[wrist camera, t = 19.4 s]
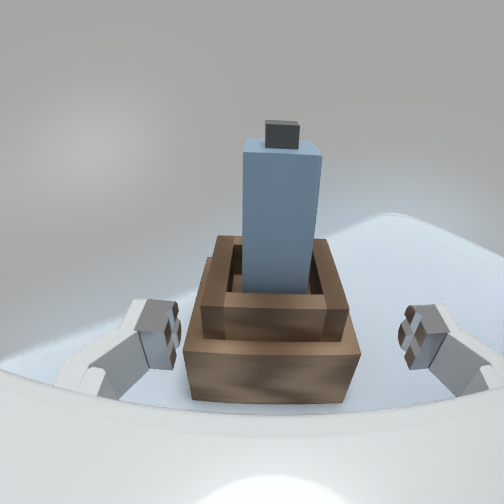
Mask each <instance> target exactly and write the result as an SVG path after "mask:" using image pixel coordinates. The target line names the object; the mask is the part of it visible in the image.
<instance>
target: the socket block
mask: <svg viewBox="0 0 504 504" xmlns="http://www.w3.org/2000/svg"><path fill="white" fill-rule="evenodd" d="M183 355H184V361H185V366H186V371H187V376H188V381H189V385H190V390H191V395H192V399H193V400H202V401H215V402H231V403H253V404H316V403H339V402H343V400H344V397H345V395H346V392H347V390H348V387H349V385H350V382H351V380H352V377H353V375H354V372H355V369H356V367H357V364H358V361H359V359H360V356H361V352H360V348H359V345H358V341H357V338H356V334H355V331H354V327H353V324H352V321H351V317H350V314H349V306H348V303H347V299H346V296H345V293H344V290H343V287H342V284H341V281H340V278H339V275H338V272H337V269H336V266H335V263H334V260H333V257H332V254H331V251H330V248H329V245H328V243H327V240H326V239H314V240H313V249H312V256H311V264H310V272H309V279H308V286H307V293H306V294H265V293H242V236H218V237H217V241H216V244H215V248H214V253H213V256H212V257H207V260H206V264H205V268H204V271H203V275H202V278H201V282H200V286H199V289H198V293H197V297H196V301H195V304H194V308H193V312H192V316H191V320H190V323H189V327H188V331H187V335H186V339H185V343H184V347H183Z"/></svg>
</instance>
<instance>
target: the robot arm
mask: <svg viewBox="0 0 504 504" xmlns="http://www.w3.org/2000/svg"><path fill="white" fill-rule="evenodd" d="M178 312H179V310H178V305H177V303H176V302H174V301H163V300H152V299H149V300H148V299H138V298H135V299H134V300H133V301H132V303H131V305H130V307H129V309H128V311H127V313H126V315H125V317H124V319H123V321H122V323H121V325H120V327H119V329H116V328H115V329H114V330H112V331H110V332H109V333H107V334H106V335H104V336H103V337H101V338H100V339H98V340H96V341H95V342H93V343H92V344H90V345H89V346H87V347H86V348H84V349H83V350H81V351H79V352H78V353H76V354H75V355H73V356H72V357H70V358H69V359H67V360H66V361H65V363H64V365H63V366H62V368H61V370H60V372H59V374H58V376H57V378H56V380H55V382H54V384H53V385H49V384H46V383H42V382H39V381H35V380H32V379H28V378H25V377H22V376H19V375H16V374H13V373H10V372H7V371H4V370H1V369H0V504H504V357H502V356H501V355H499V354H498V353H496V352H495V351H493V350H492V349H490V348H489V347H488V346H486V345H485V344H483V343H482V342H480V341H479V340H477V339H476V338H474V337H473V336H471V335H470V334H468V333H467V332H465V331H461V329H460V328H459V326H458V324H457V323H456V321H455V319H454V318H453V316H452V314H451V313H450V311H449V310H448V308H447V306H446V305H445V304H443V303H442V304H432V305H409V306H408V307H407V309H406V311H405V317H406V319H405V320H404V321H403V322H402V323H401V325H400V327H399V331H398V340H399V344H400V347H401V348H402V349H403V350H404V351H406V354H405V356H404V357H405V360H406V362H407V365H408V368H409V370H416V369H427V368H429V370H430V371H431V372H432V373H433V374H434V375H435V376H436V377H437V378H438V379H439V380H440V381H441V382H442V383H443V384H444V385H445V386H446V387H447V388H448V389H449V390H450V391H451V392H452V393H453V394H454V395H455V396H456V397H455V398H450V399H445V400H440V401H434V402H429V403H423V404H417V405H410V406H403V407H396V408H388V409H379V410H370V411H359V412H347V413H331V414H307V415H255V414H231V413H215V412H203V411H192V410H182V409H173V408H165V407H158V406H151V405H144V404H137V403H131V402H125V401H120V400H119V398H120V397H121V396H122V395H123V394H124V393H126V392H127V391H128V390H129V389H130V388H131V387H132V386H133V385H134V384H135V383H136V382H137V381H138V380H139V379H140V378H141V377H142V376H143V375H144V374H145V373H146V372H147V371H149V368H150V369H161V370H173V368H174V364H175V360H176V351H175V349H177V348H178V347H179V345H180V341H181V322H180V320H179V319H178V318H177V315H178Z"/></svg>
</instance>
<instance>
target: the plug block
mask: <svg viewBox="0 0 504 504" xmlns="http://www.w3.org/2000/svg"><path fill="white" fill-rule="evenodd" d="M299 131H300V125H299V124H298V123H297V122H296V121H279V120H266V123H265V139H261V138H258V139H257V138H247V140H246V143H245V147H244V151H243V223H242V224H243V226H242V229H243V230H242V293H265V294H306V293H307V286H308V279H309V272H310V264H311V256H312V249H313V240H314V232H315V224H316V214H317V205H318V196H319V186H320V176H321V165H322V155H321V153H320V152H319V151H318V149H317V148H316V147H315V145H314V144H313V143H312V141H304V140H299Z"/></svg>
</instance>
